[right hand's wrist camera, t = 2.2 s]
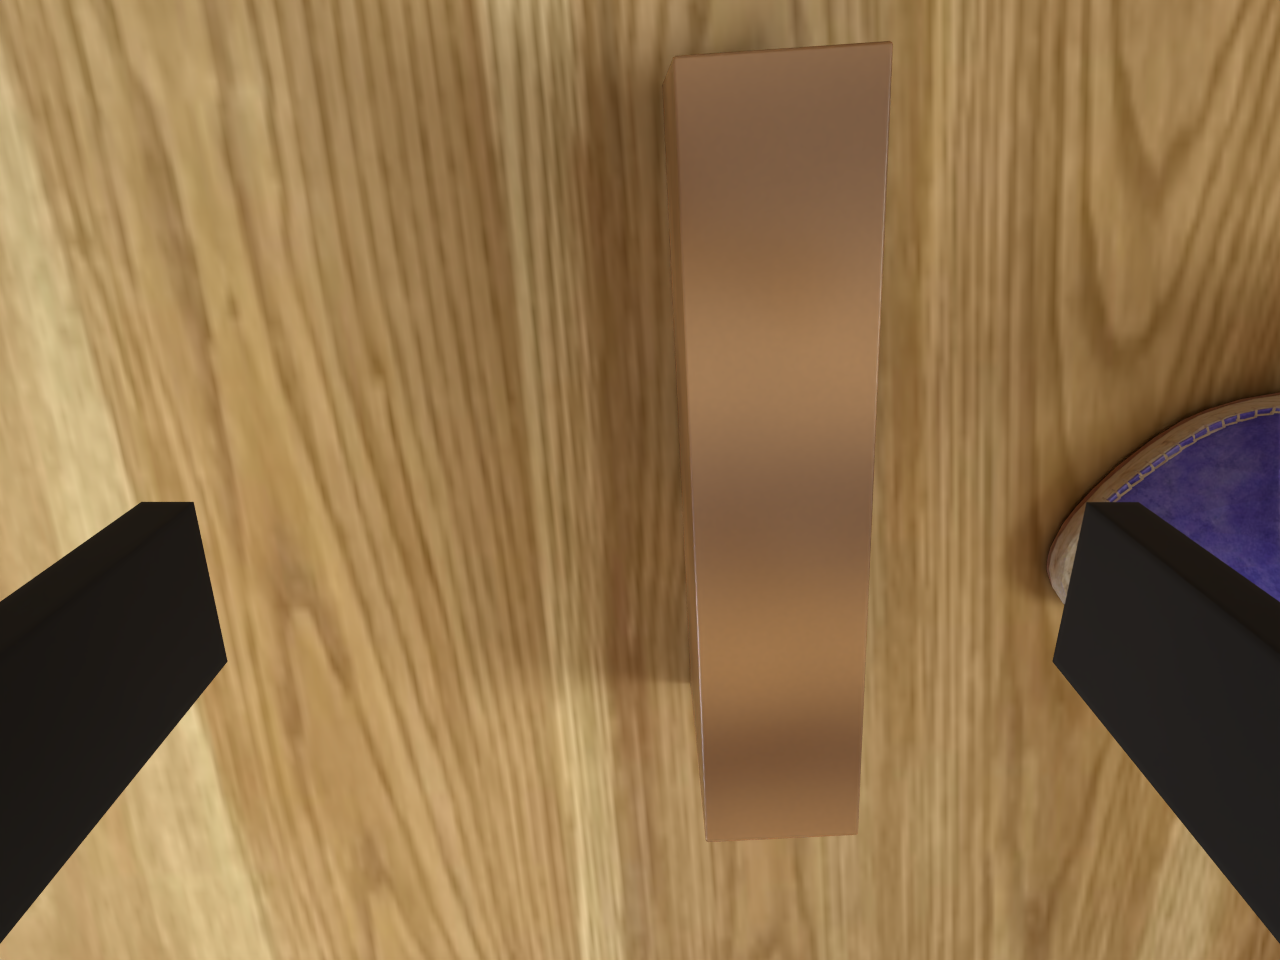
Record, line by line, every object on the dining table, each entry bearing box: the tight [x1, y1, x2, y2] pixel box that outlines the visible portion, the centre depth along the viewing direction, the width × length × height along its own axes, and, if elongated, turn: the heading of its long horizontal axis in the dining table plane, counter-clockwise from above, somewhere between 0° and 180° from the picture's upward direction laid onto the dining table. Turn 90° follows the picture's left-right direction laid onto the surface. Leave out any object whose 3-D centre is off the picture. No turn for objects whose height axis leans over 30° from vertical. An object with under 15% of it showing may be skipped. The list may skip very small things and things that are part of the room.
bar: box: [662, 41, 893, 842], centre depth 30 cm, size 25×6×10 cm, turn 4°
